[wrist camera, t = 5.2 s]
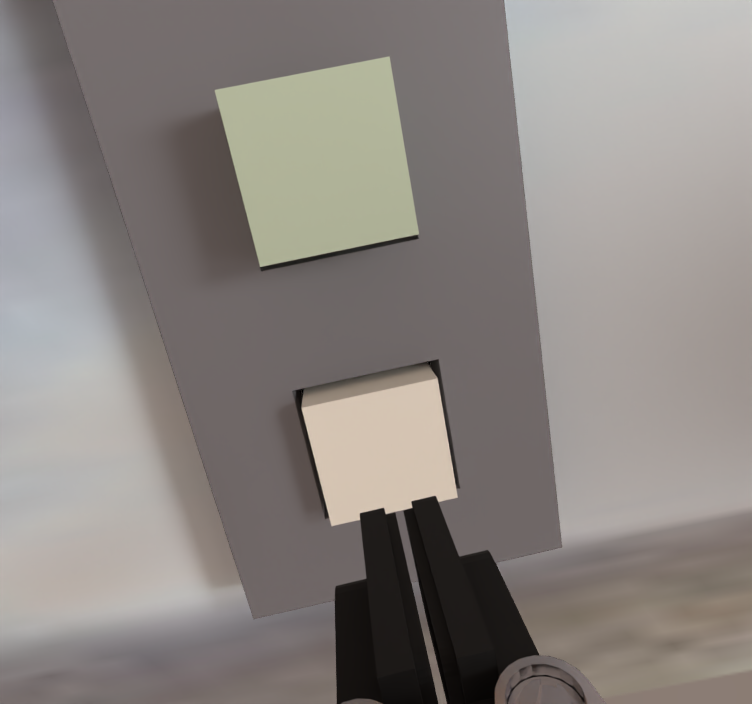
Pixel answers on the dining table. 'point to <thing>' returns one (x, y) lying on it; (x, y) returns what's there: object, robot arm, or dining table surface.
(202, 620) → the dining table surface
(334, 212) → the sage button
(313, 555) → the button panel
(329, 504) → the cream button
